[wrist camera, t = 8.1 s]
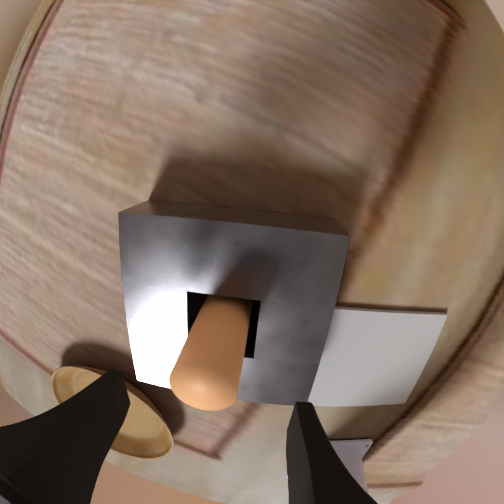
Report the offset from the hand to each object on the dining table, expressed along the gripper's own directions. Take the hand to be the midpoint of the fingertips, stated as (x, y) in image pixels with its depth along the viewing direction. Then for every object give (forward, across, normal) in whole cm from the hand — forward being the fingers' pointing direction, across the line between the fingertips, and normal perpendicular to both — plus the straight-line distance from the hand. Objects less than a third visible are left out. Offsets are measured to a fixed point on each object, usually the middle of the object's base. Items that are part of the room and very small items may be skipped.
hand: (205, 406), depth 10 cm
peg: (+10, 0, 0) cm, 10 cm away
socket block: (+10, 0, 0) cm, 10 cm away
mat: (+10, -12, +5) cm, 16 cm away
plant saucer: (+10, +12, +16) cm, 23 cm away
